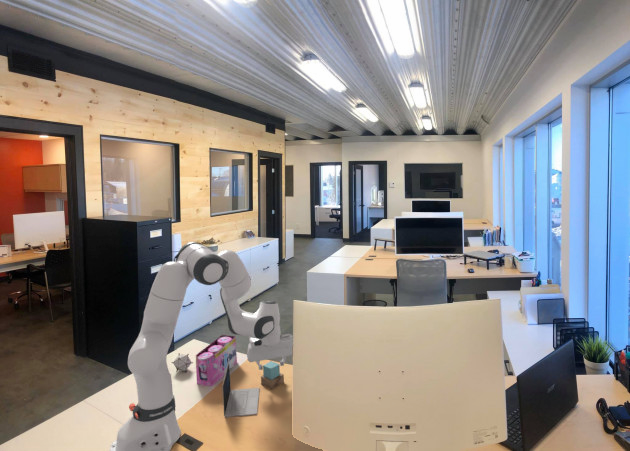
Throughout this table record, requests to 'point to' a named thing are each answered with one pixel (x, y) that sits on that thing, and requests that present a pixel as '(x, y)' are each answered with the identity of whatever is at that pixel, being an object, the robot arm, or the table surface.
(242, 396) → the laptop
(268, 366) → the teal cube
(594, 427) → the table surface
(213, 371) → the gum box
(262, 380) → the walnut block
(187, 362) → the grey spiked polyhedron
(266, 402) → the table surface
